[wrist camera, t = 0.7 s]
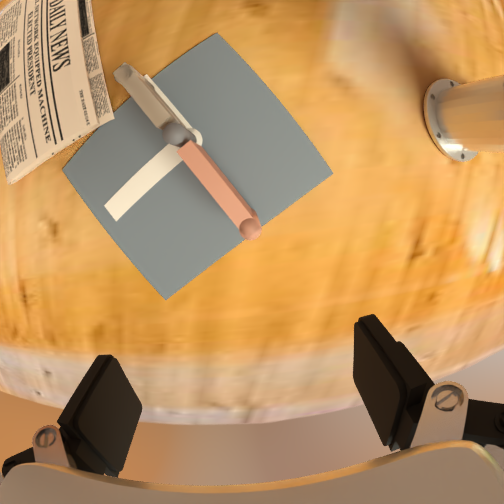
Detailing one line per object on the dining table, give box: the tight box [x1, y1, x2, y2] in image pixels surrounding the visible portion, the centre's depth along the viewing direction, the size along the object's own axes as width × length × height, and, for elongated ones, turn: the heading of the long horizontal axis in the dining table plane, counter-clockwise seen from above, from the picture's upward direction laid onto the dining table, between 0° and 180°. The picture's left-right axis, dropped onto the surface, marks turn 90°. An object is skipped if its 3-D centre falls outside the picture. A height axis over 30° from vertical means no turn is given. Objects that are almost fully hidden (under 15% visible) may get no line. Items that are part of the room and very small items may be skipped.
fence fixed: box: [113, 62, 186, 130], centre depth 24 cm, size 2×8×8 cm, turn 37°
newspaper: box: [0, 0, 115, 185], centre depth 22 cm, size 37×19×3 cm, turn 18°
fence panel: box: [162, 123, 262, 240], centre depth 27 cm, size 13×2×7 cm, turn 37°
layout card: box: [62, 33, 333, 300], centre depth 30 cm, size 26×24×1 cm
